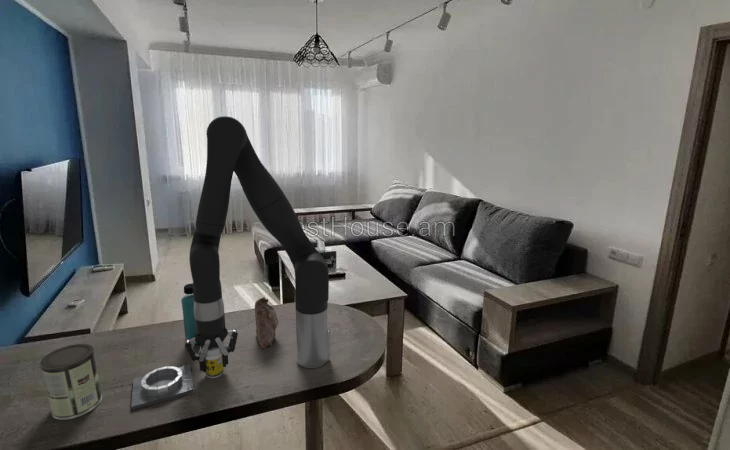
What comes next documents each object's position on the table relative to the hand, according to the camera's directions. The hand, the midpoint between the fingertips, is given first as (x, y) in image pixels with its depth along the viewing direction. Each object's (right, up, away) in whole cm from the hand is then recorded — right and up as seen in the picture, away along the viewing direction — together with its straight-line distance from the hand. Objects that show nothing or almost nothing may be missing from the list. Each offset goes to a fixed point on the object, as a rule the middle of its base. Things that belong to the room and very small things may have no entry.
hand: (214, 367), depth 108 cm
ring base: (-12, -3, -6) cm, 13 cm away
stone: (+11, +2, +18) cm, 21 cm away
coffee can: (-29, -5, -13) cm, 32 cm away
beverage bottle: (-12, +2, +15) cm, 19 cm away
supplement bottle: (0, -2, +1) cm, 2 cm away
